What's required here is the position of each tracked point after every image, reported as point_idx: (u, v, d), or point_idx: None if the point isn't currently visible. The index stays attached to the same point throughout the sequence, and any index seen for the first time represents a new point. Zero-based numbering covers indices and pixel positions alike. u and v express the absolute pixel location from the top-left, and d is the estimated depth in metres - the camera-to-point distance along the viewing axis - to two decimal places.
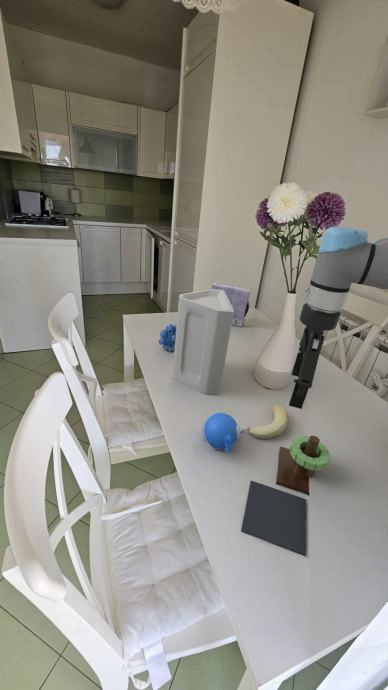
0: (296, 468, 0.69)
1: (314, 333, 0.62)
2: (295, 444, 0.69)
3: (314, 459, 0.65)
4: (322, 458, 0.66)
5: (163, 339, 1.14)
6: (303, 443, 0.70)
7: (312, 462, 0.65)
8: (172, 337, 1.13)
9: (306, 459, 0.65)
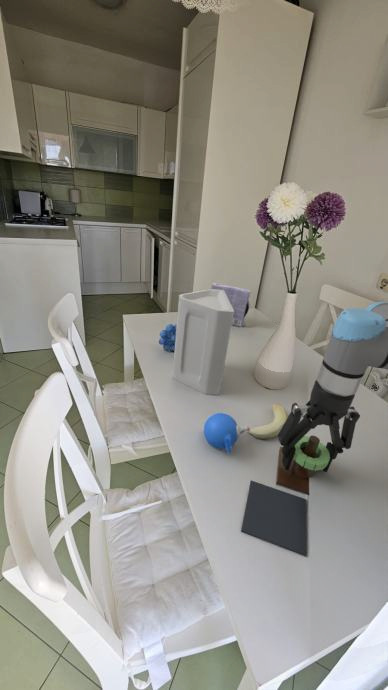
0: (296, 468, 0.69)
1: (307, 403, 0.62)
2: None
3: (314, 459, 0.65)
4: (322, 458, 0.66)
5: (163, 339, 1.14)
6: (303, 443, 0.70)
7: (312, 462, 0.65)
8: (172, 337, 1.13)
9: (306, 459, 0.65)
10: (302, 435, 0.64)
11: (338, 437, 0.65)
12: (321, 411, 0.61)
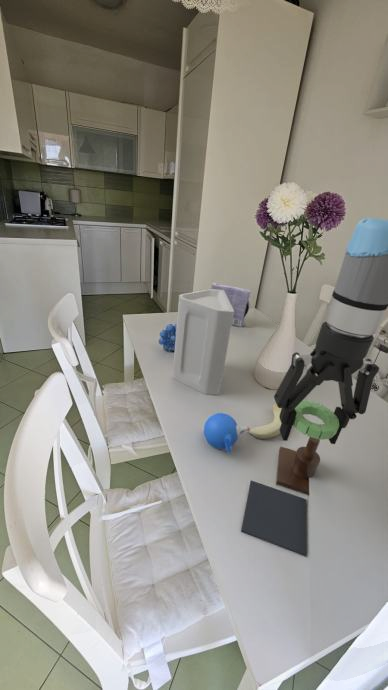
0: (296, 468, 0.69)
1: (312, 351, 0.49)
2: (296, 409, 0.56)
3: (319, 425, 0.52)
4: (330, 424, 0.53)
5: (163, 339, 1.14)
6: (306, 408, 0.57)
7: (317, 429, 0.51)
8: (172, 337, 1.13)
9: (309, 425, 0.52)
10: (305, 394, 0.51)
11: (350, 398, 0.51)
12: (329, 361, 0.48)
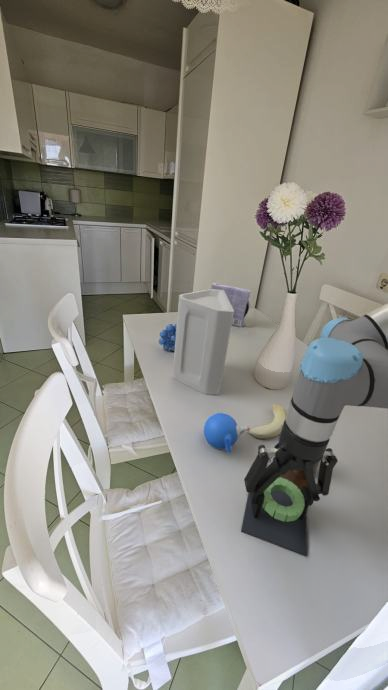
0: None
1: (276, 445, 0.53)
2: None
3: (286, 508, 0.56)
4: (295, 506, 0.57)
5: (163, 339, 1.14)
6: (275, 486, 0.61)
7: (283, 512, 0.55)
8: (172, 337, 1.13)
9: (276, 508, 0.56)
10: (271, 481, 0.55)
11: (313, 483, 0.56)
12: (291, 456, 0.52)
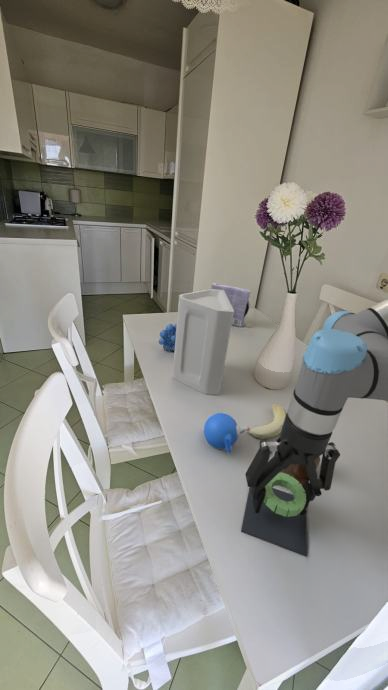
0: (296, 468, 0.69)
1: (278, 439, 0.52)
2: None
3: (287, 503, 0.56)
4: (297, 501, 0.56)
5: (163, 339, 1.14)
6: (276, 481, 0.60)
7: (284, 507, 0.55)
8: (172, 337, 1.13)
9: (278, 503, 0.55)
10: (272, 476, 0.54)
11: (315, 478, 0.55)
12: (293, 449, 0.51)
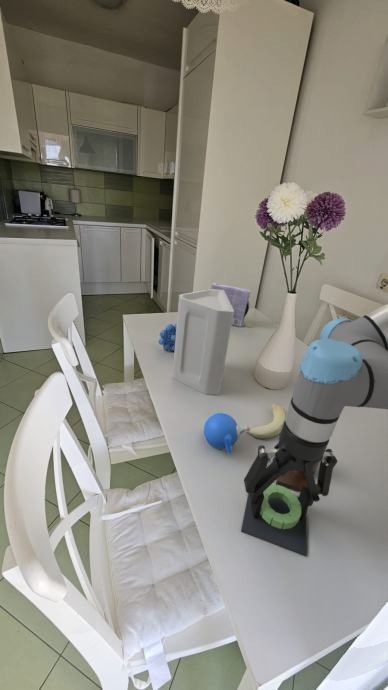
0: None
1: (276, 446, 0.53)
2: None
3: (282, 516, 0.57)
4: (292, 514, 0.58)
5: (163, 339, 1.14)
6: (272, 493, 0.62)
7: (280, 520, 0.57)
8: (172, 337, 1.13)
9: (273, 516, 0.57)
10: (271, 482, 0.55)
11: (313, 484, 0.56)
12: (291, 456, 0.52)
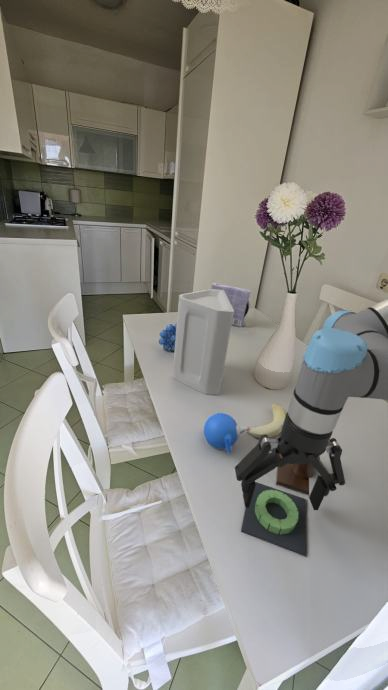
0: (296, 468, 0.69)
1: (280, 437, 0.52)
2: (260, 501, 0.62)
3: (280, 521, 0.58)
4: (289, 519, 0.59)
5: (163, 339, 1.14)
6: (270, 499, 0.63)
7: (277, 525, 0.57)
8: (172, 337, 1.13)
9: (270, 521, 0.58)
10: (266, 471, 0.54)
11: (325, 474, 0.54)
12: (295, 449, 0.51)
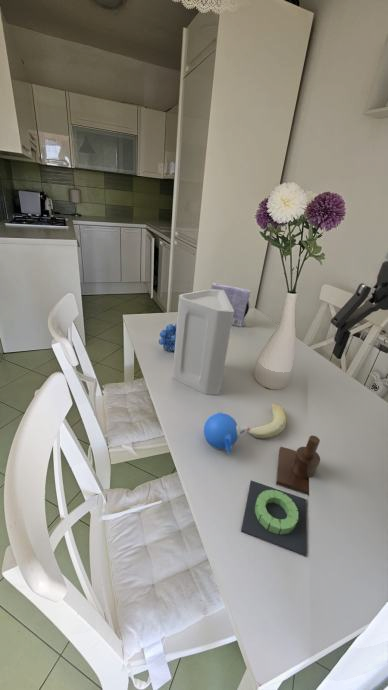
0: (296, 468, 0.69)
1: (376, 284, 0.61)
2: (260, 501, 0.62)
3: (280, 521, 0.58)
4: (289, 519, 0.59)
5: (163, 339, 1.14)
6: (270, 499, 0.63)
7: (277, 525, 0.57)
8: (172, 337, 1.13)
9: (270, 521, 0.58)
10: (361, 318, 0.63)
11: None
12: None
